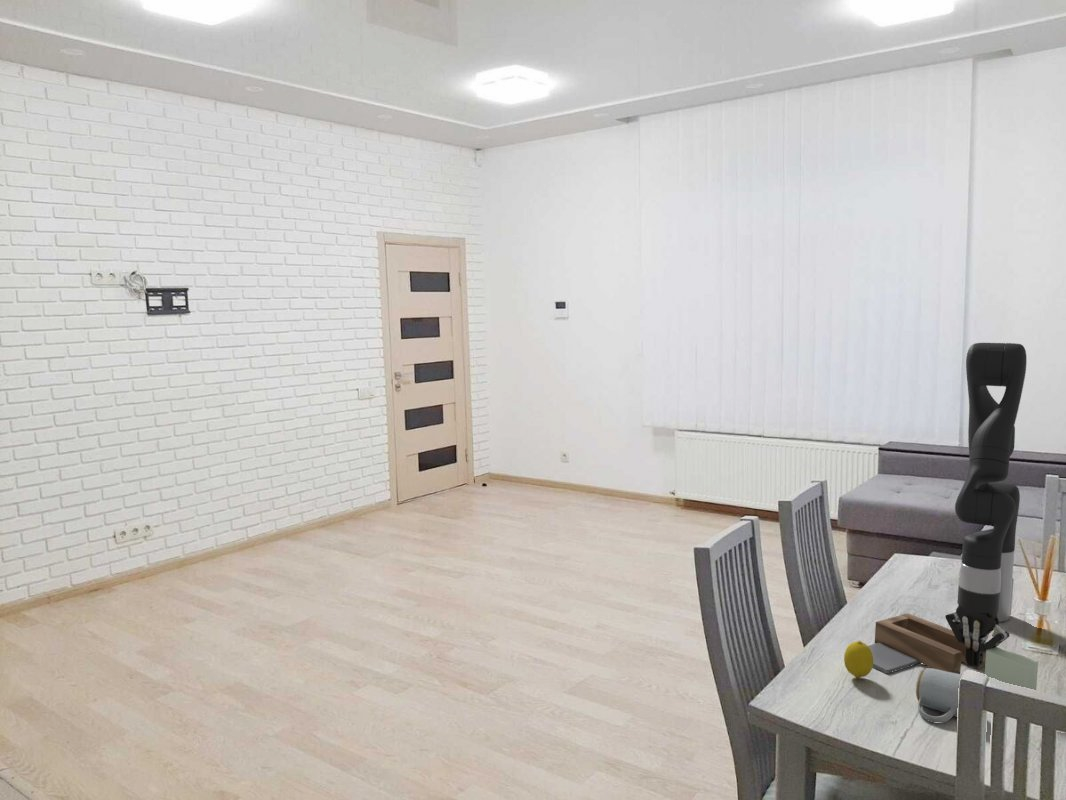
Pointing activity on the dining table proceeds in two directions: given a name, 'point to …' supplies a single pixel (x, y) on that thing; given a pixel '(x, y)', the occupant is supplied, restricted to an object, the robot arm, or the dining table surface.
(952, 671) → the rail
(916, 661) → the slate coaster
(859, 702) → the dining table surface
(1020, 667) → the sage block
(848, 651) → the lemon
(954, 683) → the ceramic mug
